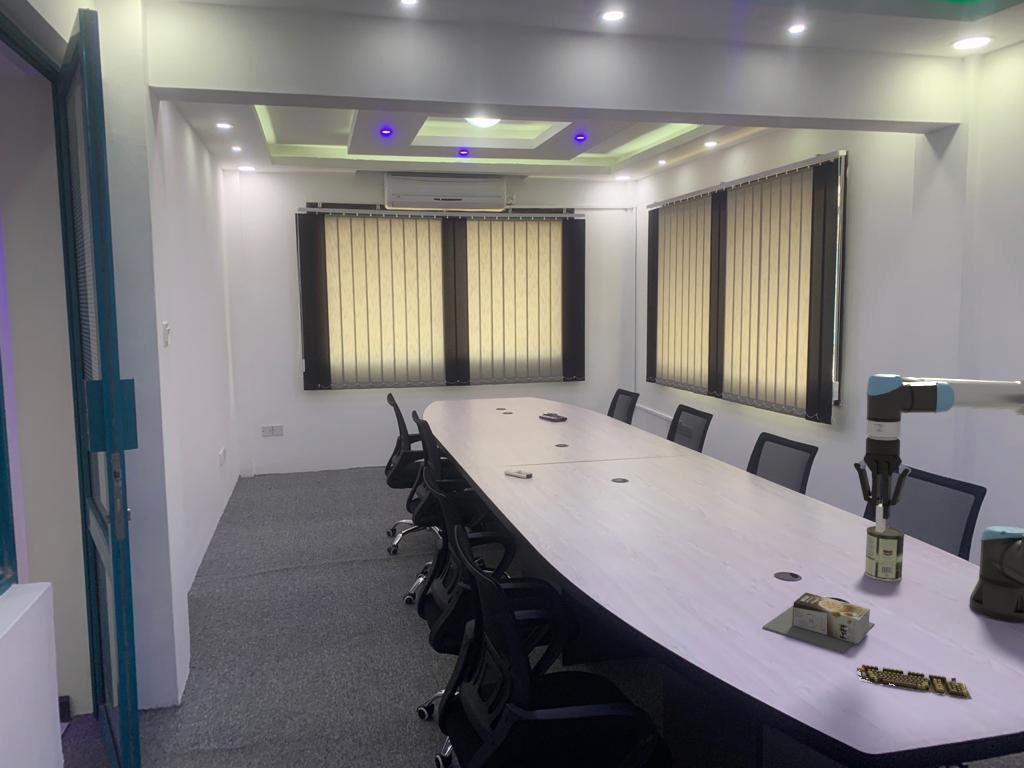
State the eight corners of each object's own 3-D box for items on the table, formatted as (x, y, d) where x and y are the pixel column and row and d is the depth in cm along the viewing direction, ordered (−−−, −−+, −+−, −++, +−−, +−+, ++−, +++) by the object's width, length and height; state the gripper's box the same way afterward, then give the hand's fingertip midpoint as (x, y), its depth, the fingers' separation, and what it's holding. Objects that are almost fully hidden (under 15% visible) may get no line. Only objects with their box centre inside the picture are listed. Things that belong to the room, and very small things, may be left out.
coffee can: (886, 568, 231) (889, 525, 229) (909, 580, 221) (912, 535, 219) (857, 570, 229) (859, 526, 228) (878, 582, 219) (881, 536, 218)
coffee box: (859, 619, 177) (792, 601, 188) (858, 644, 178) (791, 626, 188) (870, 608, 184) (805, 591, 195) (868, 632, 185) (804, 615, 195)
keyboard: (858, 685, 161) (858, 676, 161) (854, 666, 170) (855, 658, 170) (972, 703, 154) (973, 694, 154) (963, 683, 162) (963, 674, 162)
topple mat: (874, 624, 190) (874, 623, 190) (843, 653, 174) (843, 652, 174) (797, 603, 204) (798, 601, 204) (762, 628, 188) (762, 626, 188)
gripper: (850, 436, 182) (847, 529, 185) (907, 442, 174) (904, 539, 176) (860, 432, 188) (858, 522, 190) (916, 437, 179) (913, 532, 181)
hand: (880, 530), depth 183 cm, fingers closed
